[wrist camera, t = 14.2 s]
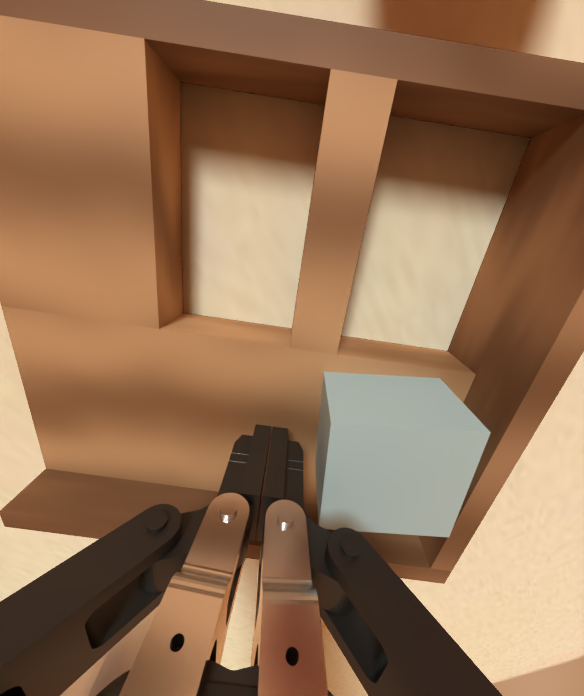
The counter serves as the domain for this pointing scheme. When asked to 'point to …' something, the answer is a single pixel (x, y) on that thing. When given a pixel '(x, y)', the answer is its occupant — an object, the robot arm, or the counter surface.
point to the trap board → (317, 262)
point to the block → (394, 454)
